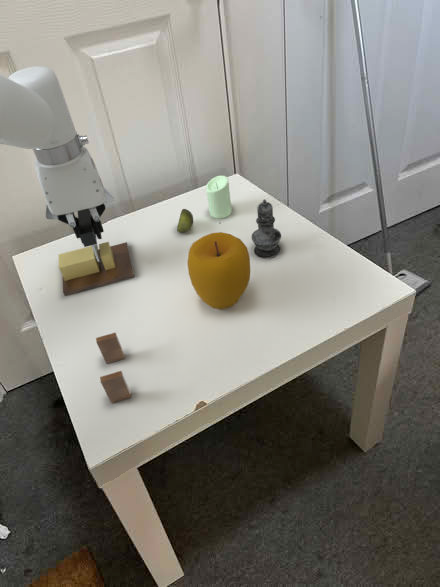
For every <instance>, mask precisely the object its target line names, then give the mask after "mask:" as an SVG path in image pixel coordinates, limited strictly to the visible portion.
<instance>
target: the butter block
mask: <svg viewBox="0 0 440 587" xmlns="http://www.w3.org/2000/svg"><path fill="white" fill-rule="evenodd" d="M58 269H59V272H60V273H61V275H62V276H63V278H64V280H65V281H67V280H71V279H74V278H78V277H82V276H86V275H90V274H93V273H97V272H100V271H99V263H98V261H97V259H96V256H95V254H94V251H93V249H92V246H87V247H83V248H82V247H81V248H78V249H75V250H70V251H66V252H62V253H59V254H58Z"/></svg>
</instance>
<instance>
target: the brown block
mask: <svg viewBox="0 0 440 587" xmlns="http://www.w3.org/2000/svg"><path fill="white" fill-rule="evenodd" d="M95 342H96V344H97V347H98V349H99V351H100V354H101V355H102V357H103V360H104V362H105V364H107V365H108V364H110V363H114V362H118V361H121V360H125V359H126V355H125V352H124V350H123V347H122V344H121V342H120V340H119V337H118V335H117V333H116V332H112V333H109V334H108V333H107V334H105V335H101V336H98V337H95ZM99 380H100V381H99V382H100V384H101V386H102V388H103V390H104V392H105V394H106V396H107V398H108V400H109V402H110V404H113V403H116V402H120V401H124V400H126V399H130V398H132V392H131V389H130V386H129V385H128V383H127V380H126V378H125V375H124V374H123V371H122V370H119V371H115V372H112V373H108V374H105V375H102V376H99Z"/></svg>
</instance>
